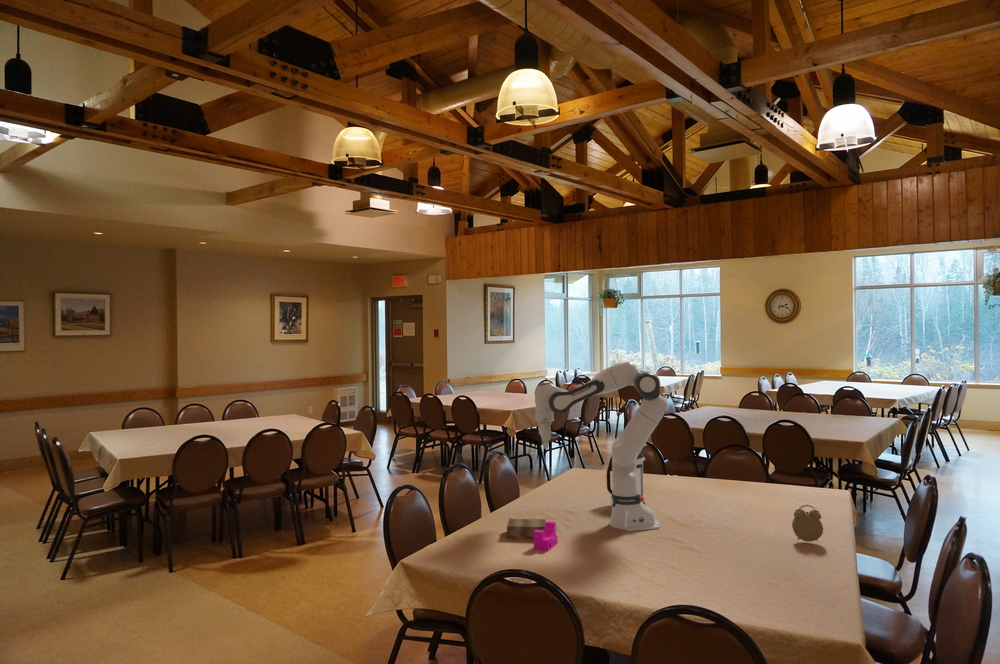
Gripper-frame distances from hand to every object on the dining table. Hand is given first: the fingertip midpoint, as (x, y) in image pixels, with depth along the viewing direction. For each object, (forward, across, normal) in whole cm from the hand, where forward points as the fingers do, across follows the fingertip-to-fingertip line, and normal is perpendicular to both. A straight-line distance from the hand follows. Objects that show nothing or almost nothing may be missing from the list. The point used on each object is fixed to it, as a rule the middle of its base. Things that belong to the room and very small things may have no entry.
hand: (544, 446), depth 291 cm
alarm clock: (+34, -39, -104) cm, 116 cm away
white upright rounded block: (+34, +23, -45) cm, 61 cm away
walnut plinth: (+34, -23, +11) cm, 43 cm away
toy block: (+35, -35, +3) cm, 49 cm away
